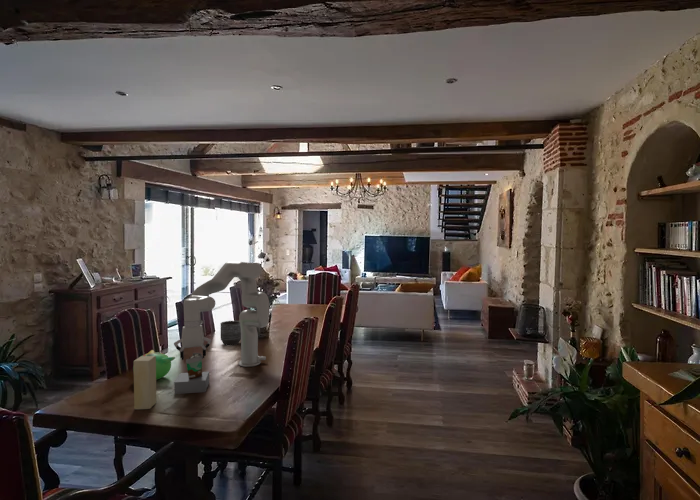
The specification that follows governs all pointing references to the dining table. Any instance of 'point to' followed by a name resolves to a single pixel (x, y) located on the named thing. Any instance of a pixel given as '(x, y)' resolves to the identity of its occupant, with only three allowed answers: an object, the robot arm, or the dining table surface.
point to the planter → (230, 332)
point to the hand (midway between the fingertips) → (193, 358)
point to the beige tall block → (144, 382)
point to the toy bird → (160, 363)
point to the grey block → (191, 383)
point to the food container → (194, 365)
